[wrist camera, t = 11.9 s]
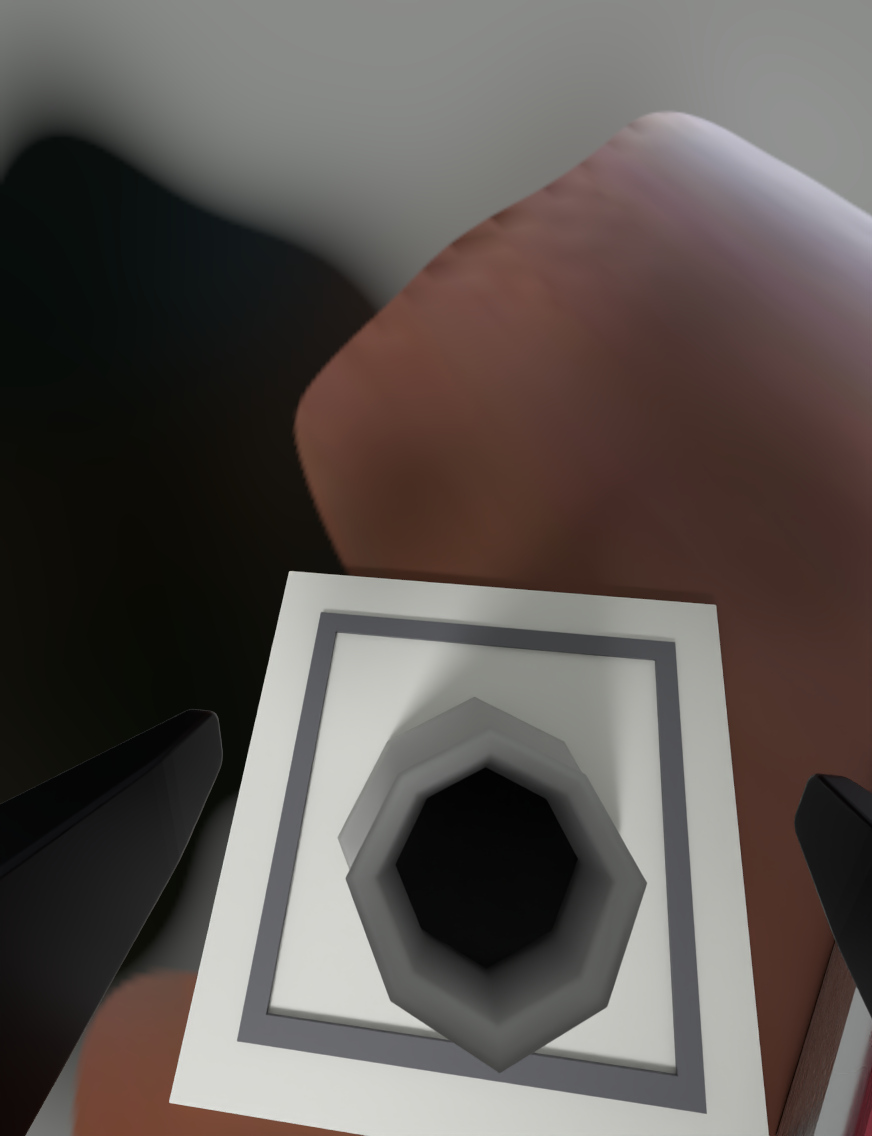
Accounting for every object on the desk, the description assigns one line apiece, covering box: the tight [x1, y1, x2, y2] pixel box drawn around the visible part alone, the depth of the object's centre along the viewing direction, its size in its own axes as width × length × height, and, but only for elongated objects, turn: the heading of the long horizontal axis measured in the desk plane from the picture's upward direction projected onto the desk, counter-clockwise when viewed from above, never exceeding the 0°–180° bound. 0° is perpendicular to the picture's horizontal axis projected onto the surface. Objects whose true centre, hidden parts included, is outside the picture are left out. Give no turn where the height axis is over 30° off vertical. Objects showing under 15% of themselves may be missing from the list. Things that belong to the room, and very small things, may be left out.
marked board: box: [169, 571, 769, 1136], centre depth 16 cm, size 14×14×1 cm
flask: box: [337, 697, 647, 1073], centre depth 11 cm, size 7×7×10 cm
